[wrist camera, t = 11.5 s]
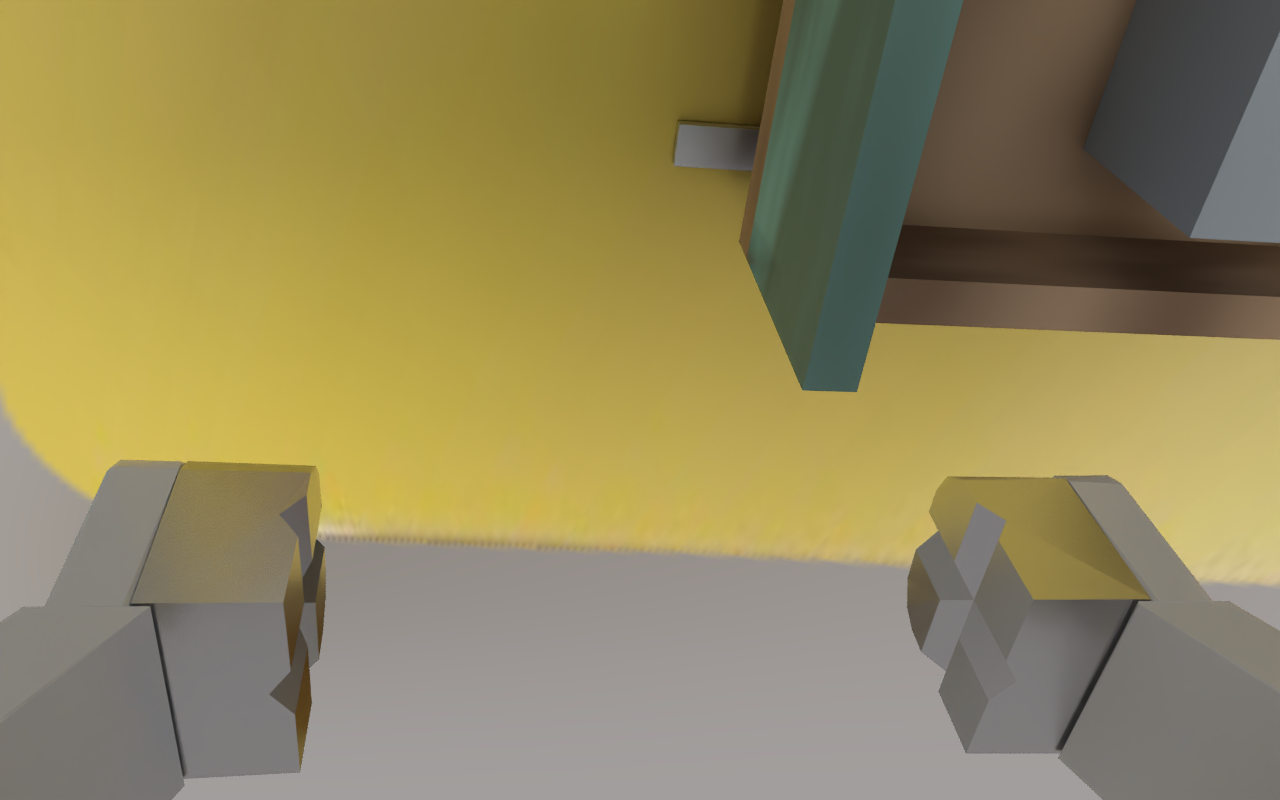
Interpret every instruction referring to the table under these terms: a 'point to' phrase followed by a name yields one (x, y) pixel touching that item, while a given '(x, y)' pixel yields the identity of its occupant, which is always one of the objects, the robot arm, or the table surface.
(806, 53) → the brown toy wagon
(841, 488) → the table surface
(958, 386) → the table surface
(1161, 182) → the block
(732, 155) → the rails
